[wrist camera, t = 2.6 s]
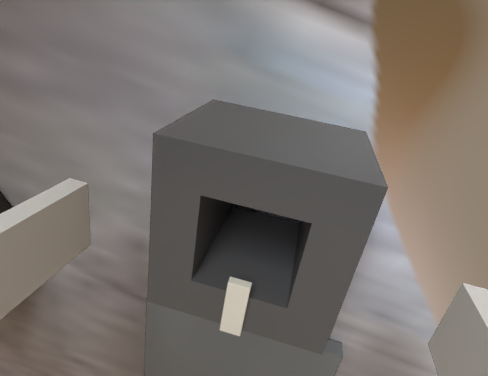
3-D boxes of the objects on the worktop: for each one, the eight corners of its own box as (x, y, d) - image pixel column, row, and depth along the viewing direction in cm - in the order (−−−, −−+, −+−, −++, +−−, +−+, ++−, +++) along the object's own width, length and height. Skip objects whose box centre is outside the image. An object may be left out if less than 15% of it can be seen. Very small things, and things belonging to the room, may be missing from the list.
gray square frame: (213, 99, 15) (148, 135, 10) (365, 131, 14) (389, 192, 9) (199, 225, 19) (143, 306, 13) (324, 258, 18) (322, 361, 12)
